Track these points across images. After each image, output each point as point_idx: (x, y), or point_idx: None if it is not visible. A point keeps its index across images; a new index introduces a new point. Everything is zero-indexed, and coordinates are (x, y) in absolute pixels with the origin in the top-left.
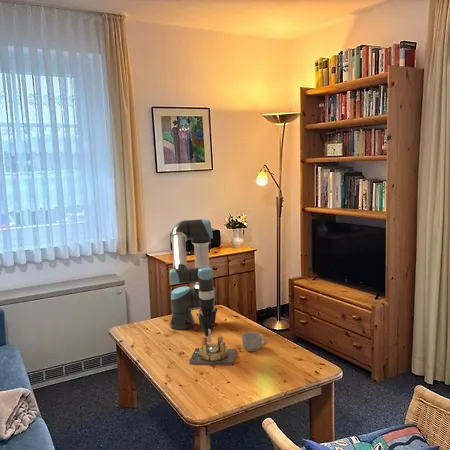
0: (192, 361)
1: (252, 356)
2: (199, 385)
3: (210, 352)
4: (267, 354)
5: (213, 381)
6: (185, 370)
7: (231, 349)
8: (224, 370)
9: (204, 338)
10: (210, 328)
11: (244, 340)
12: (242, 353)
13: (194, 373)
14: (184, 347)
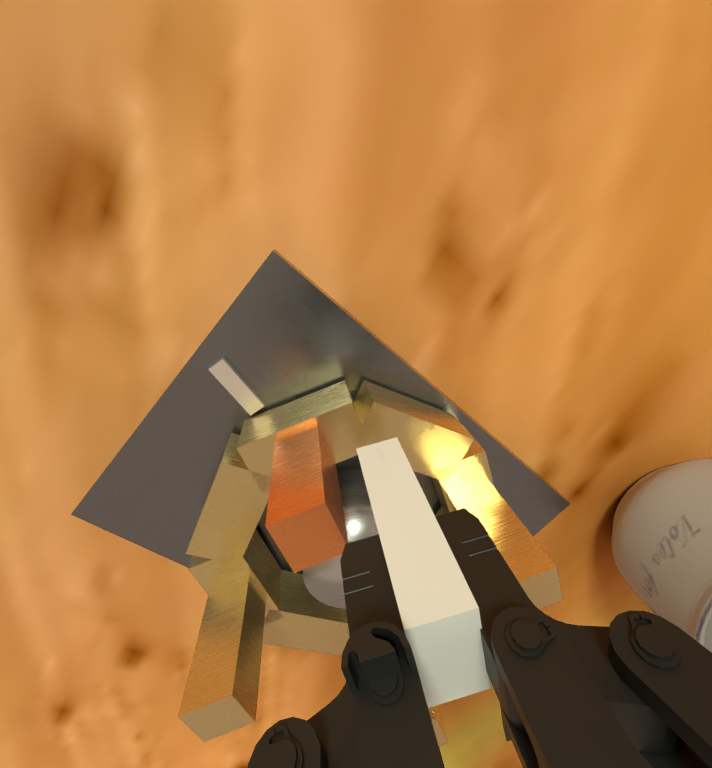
0: (105, 526)
1: (563, 591)
2: (61, 758)
3: None
4: (641, 605)
5: (166, 746)
6: (14, 576)
7: (533, 491)
8: (298, 671)
9: (308, 557)
10: (503, 721)
11: (672, 601)
12: (557, 529)
13: (78, 639)
14: (182, 14)
